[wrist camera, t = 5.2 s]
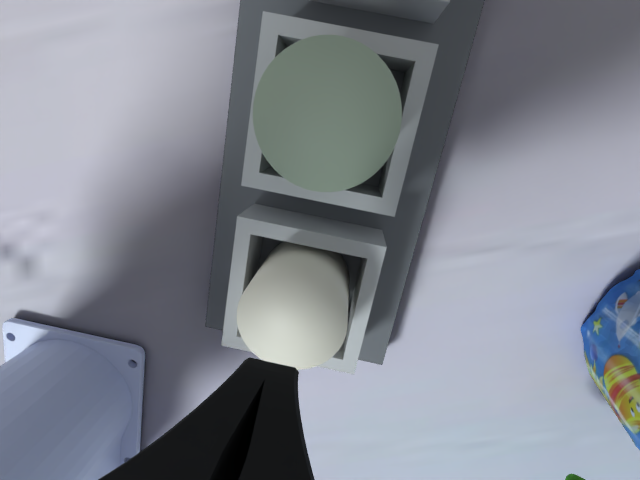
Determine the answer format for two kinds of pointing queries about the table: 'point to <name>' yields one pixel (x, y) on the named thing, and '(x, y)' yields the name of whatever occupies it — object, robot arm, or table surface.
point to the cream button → (296, 306)
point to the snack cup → (617, 353)
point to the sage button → (327, 113)
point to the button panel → (351, 204)
